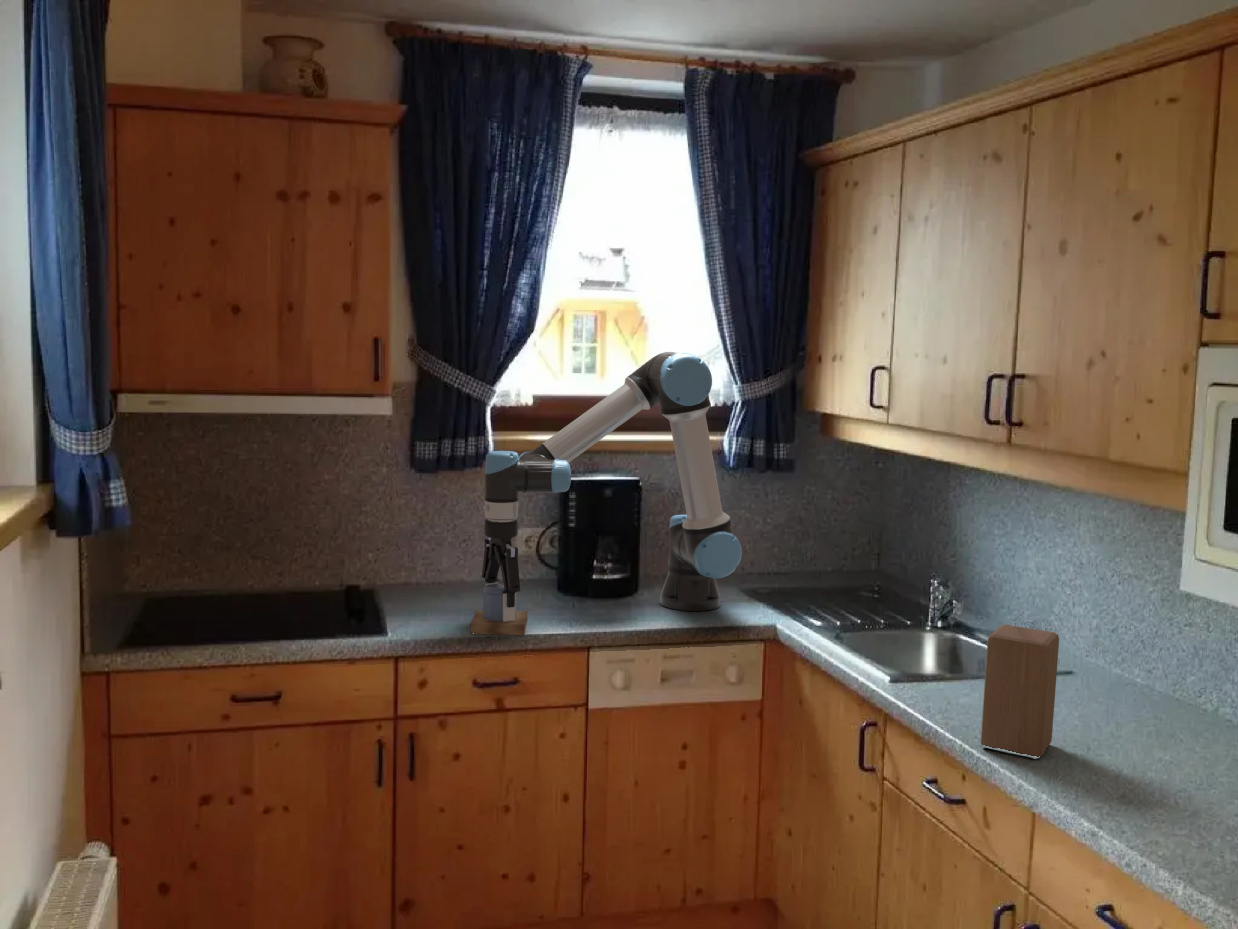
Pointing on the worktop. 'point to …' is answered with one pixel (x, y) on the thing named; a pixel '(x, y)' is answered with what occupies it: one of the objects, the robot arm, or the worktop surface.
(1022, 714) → the wooden block
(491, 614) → the cap
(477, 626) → the stud block
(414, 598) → the worktop surface
